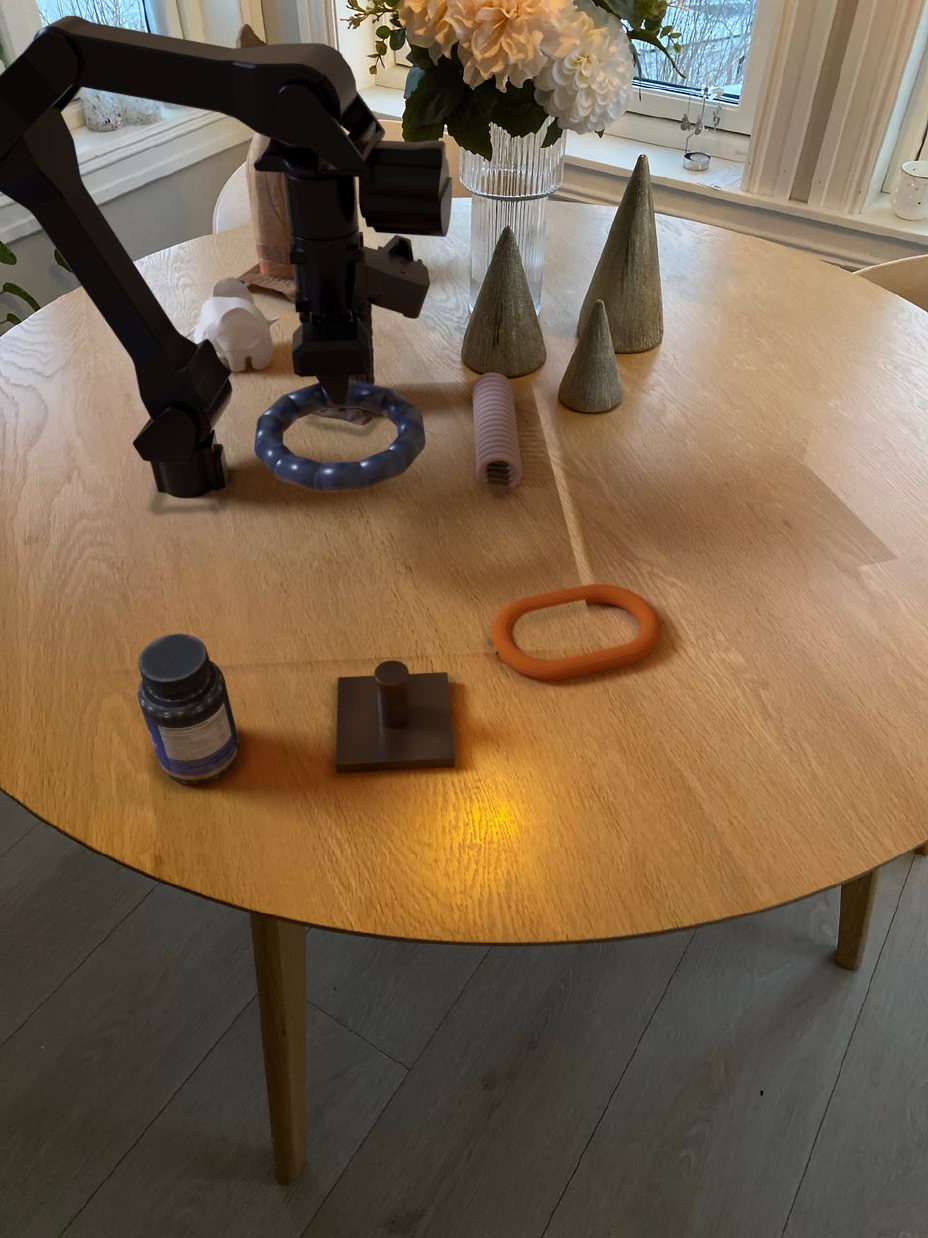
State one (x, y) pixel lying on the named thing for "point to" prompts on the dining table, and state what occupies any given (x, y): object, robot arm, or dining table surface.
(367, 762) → the stand
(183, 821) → the dining table surface
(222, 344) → the elephant figurine
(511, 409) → the coil
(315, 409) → the ring
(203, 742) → the pill bottle
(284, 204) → the bird sculpture
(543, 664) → the orange oval loop
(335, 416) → the statue
